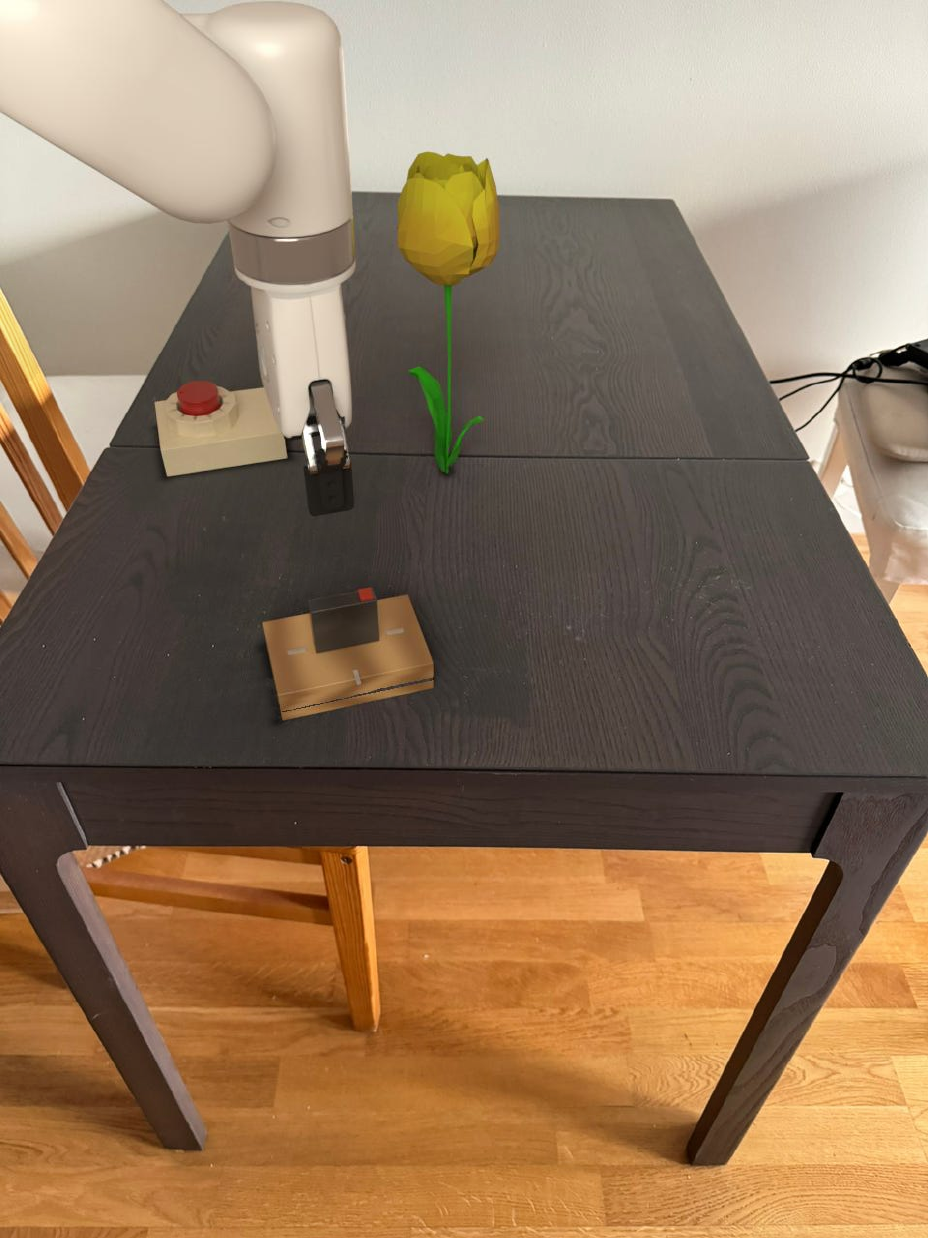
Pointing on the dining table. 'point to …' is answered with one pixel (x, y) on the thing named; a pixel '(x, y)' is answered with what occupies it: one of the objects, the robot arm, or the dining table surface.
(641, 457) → the dining table surface
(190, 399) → the red button
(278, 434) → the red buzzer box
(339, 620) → the black block
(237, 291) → the dining table surface
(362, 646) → the dial panel
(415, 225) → the flower
